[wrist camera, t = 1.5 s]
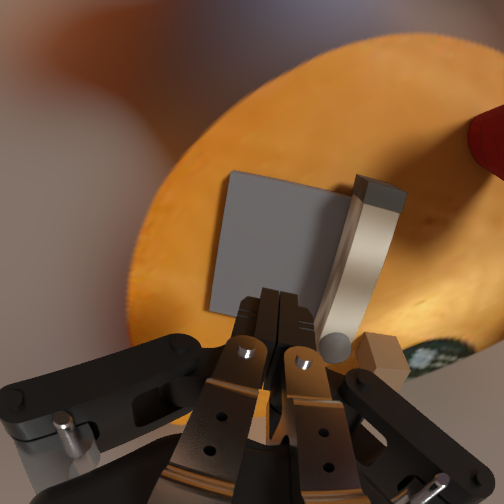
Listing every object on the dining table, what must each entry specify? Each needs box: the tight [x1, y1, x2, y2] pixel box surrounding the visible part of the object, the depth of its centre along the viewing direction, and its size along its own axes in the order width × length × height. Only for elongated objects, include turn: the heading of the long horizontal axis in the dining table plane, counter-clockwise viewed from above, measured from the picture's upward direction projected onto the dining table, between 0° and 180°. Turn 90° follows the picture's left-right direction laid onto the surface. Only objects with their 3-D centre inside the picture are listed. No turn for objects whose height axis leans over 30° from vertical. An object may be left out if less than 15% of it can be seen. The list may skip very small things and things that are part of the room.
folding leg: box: [314, 174, 407, 364], centre depth 25 cm, size 16×3×5 cm, turn 169°
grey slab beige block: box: [209, 170, 411, 391], centre depth 27 cm, size 21×17×6 cm
